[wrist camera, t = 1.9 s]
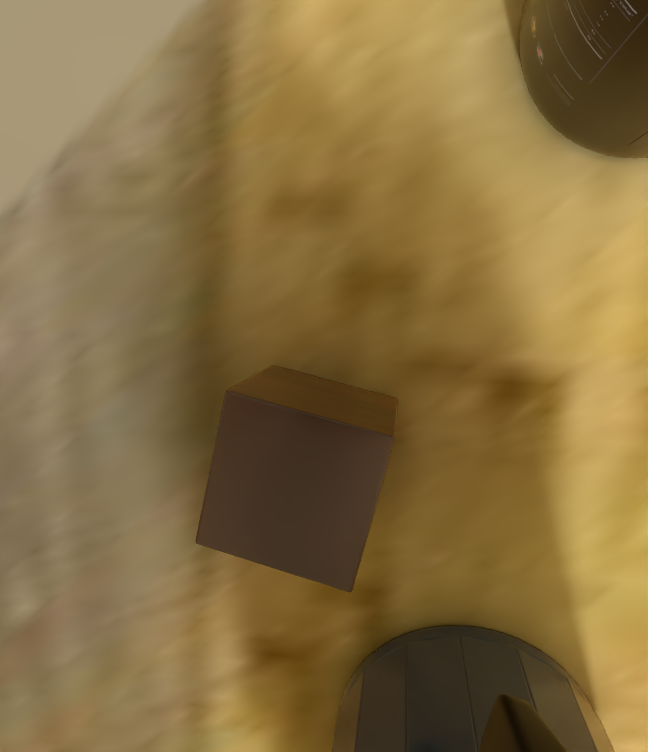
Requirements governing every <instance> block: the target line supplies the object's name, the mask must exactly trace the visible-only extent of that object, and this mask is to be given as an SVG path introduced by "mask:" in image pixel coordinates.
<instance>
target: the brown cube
mask: <svg viewBox="0 0 648 752" xmlns="http://www.w3.org/2000/svg"><path fill="white" fill-rule="evenodd" d="M397 406H398V399H396V398H393V397H389V396H385V395H382V394H378V393H374V392H371V391H367V390H363V389H359V388H356V387H352V386H348V385H345V384H341V383H337V382H333V381H330V380H326V379H322V378H318V377H315V376H311V375H307V374H304V373H300V372H296V371H292V370H289V369H285V368H281V367H277V366H274V365H272V366H270V367H268V368H266V369H264V370H262V371H261V372H259V373H257V374H255V375H253V376H252V377H250V378H248V379H246V380H244V381H243V382H241V383H239V384H237V385H235V386H234V387H232V388H230V389H228V390H227V391H226V392H225V397H224V402H223V407H222V412H221V417H220V422H219V427H218V432H217V437H216V442H215V447H214V452H213V457H212V462H211V467H210V472H209V477H208V482H207V487H206V492H205V497H204V502H203V507H202V511H201V516H200V521H199V526H198V531H197V536H196V543H197V544H200V545H203V546H206V547H209V548H212V549H215V550H218V551H222V552H225V553H228V554H231V555H234V556H237V557H240V558H243V559H247V560H250V561H253V562H256V563H259V564H262V565H265V566H269V567H272V568H275V569H278V570H281V571H284V572H287V573H291V574H294V575H297V576H300V577H303V578H306V579H309V580H312V581H316V582H319V583H322V584H325V585H328V586H331V587H334V588H338V589H341V590H344V591H347V592H351V591H352V590H353V587H354V583H355V579H356V576H357V572H358V569H359V565H360V562H361V558H362V554H363V551H364V547H365V544H366V540H367V537H368V533H369V529H370V526H371V522H372V519H373V515H374V512H375V508H376V504H377V501H378V497H379V494H380V490H381V487H382V483H383V479H384V476H385V472H386V469H387V465H388V462H389V458H390V454H391V451H392V447H393V444H394V440H395V430H396V418H397Z"/></svg>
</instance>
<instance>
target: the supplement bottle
mask: <svg viewBox="0 0 648 752" xmlns="http://www.w3.org/2000/svg"><path fill="white" fill-rule="evenodd" d="M519 45H520V59H521V66H522V70H523V74H524V78H525V82H526V84H527V87H528V90H529V93H530V95H531V97H532V99H533V101H534V103H535V104H536V106H537V107H538V109H539V111H540V112H541V114H542V115H543V116H544V117H545V119H546V120H547V121H548V122H549V123H550V124H551V125H552V126H553V127H554V128H555V129H556V130H557V131H558V132H560V133H561V134H562V135H563V136H565V137H566V138H568V139H569V140H571V141H572V142H574V143H575V144H578V145H580V146H582V147H584V148H586V149H588V150H591V151H594V152H597V153H601V154H605V155H609V156H615V157H623V158H648V0H525V3H524V8H523V12H522V18H521V25H520V38H519Z"/></svg>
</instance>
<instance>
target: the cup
mask: <svg viewBox="0 0 648 752" xmlns="http://www.w3.org/2000/svg"><path fill="white" fill-rule="evenodd" d="M500 694H507V695H510V696H513V697H516V698H519V699H522V700H525V701H527V702H528V703H530V704H531V705H532V707H533V708H534V709H535V710H536V712H537V713H538V714H539V715H540V717H541V718H542V719H543V720H544V722H545V723H546V724H547V725H548V727H549V728H550V729H551V731H552V732H553V733H554V734H555V736H556V737H557V738H558V739H559V741H560V742H561V743H562V744H563V746H564V747H565V748H566V749H567V751H568V752H615V751H614V749H613V747H612V745H611V742H610V740H609V738H608V736H607V734H606V731H605V729H604V727H603V725H602V722H601V720H600V719H599V717H598V716H597V714H596V713H595V712H594V711H593V709H592V707H591V705H590V703H589V701H588V699H587V697H586V695H585V694H584V693H583V691H582V690H581V688H580V687H579V685H578V684H577V683H576V682H575V680H574V679H573V678H572V677H571V676H570V675H569V674H568V673H567V672H566V670H564V669H563V668H562V667H561V666H560V665H559V664H557V663H556V662H555V661H554V660H553V659H552V658H550V657H549V656H547V655H546V654H544V653H543V652H541V651H540V650H538V649H537V648H535V647H533V646H531V645H529V644H527V643H525V642H523V641H521V640H519V639H517V638H514V637H511V636H509V635H506V634H504V633H500V632H496V631H492V630H488V629H484V628H477V627H470V626H441V627H431V628H426V629H422V630H417V631H414V632H411V633H408V634H405V635H402V636H400V637H398V638H396V639H394V640H392V641H390V642H388V643H386V644H384V645H383V646H382V647H380V648H379V649H377V650H376V651H374V652H373V653H372V654H371V655H370V656H369V657H368V658H367V659H366V660H365V661H363V663H362V664H361V665H360V666H359V668H358V669H357V670H356V671H355V673H354V674H353V676H352V677H351V679H350V681H349V683H348V684H347V686H346V689H345V692H344V694H343V697H342V700H341V703H340V706H339V711H338V718H337V724H336V730H335V736H334V742H333V748H332V752H480V745H481V739H482V735H483V733H484V730H485V727H486V724H487V722H488V719H489V716H490V714H491V711H492V708H493V705H494V703H495V700H496V698H497V697H498V696H499V695H500Z"/></svg>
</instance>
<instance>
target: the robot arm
mask: <svg viewBox="0 0 648 752" xmlns="http://www.w3.org/2000/svg"><path fill="white" fill-rule="evenodd" d="M480 752H568V751H567V749H566V748H565V747H564V746H563V744H562V743H561V742H560V741H559V739H558V738H557V737H556V736H555V734H554V733H553V732H552V731H551V729H550V728H549V727H548V725H547V724H546V723H545V722H544V720H543V719H542V718H541V717H540V715H539V714H538V713H537V712H536V710H535V709H534V708H533V707H532V705H531V704H530V703H528V702H527V701H525V700H522V699H519V698H516V697H513V696H510V695H507V694H500V695H499V696H498V697H497V698H496V700H495V703H494V705H493V708H492V711H491V714H490V716H489V719H488V722H487V724H486V727H485V730H484V733H483V735H482V739H481V745H480Z"/></svg>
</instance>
